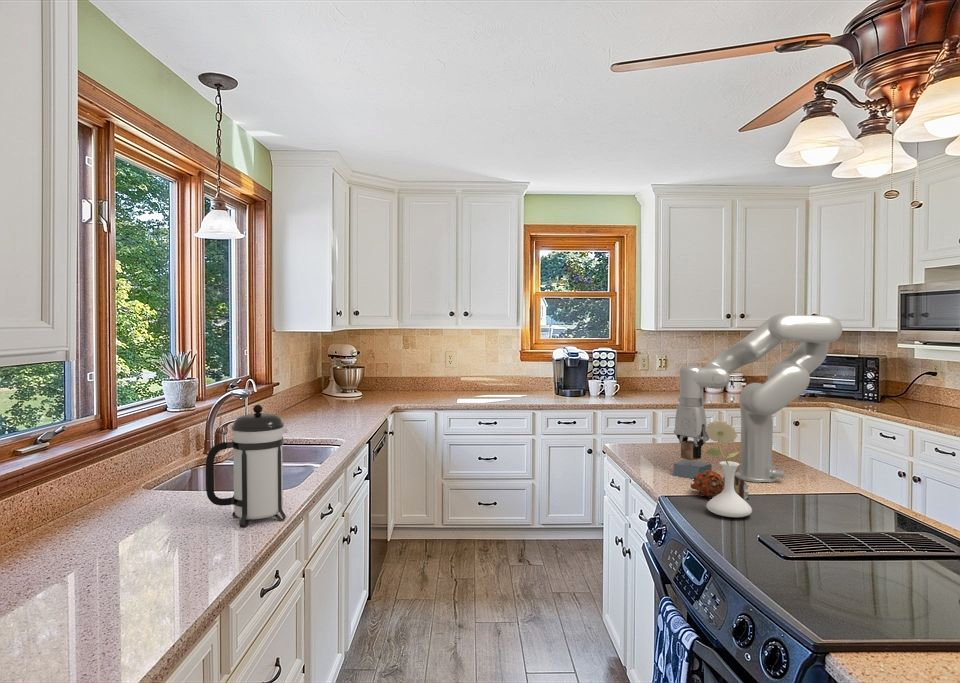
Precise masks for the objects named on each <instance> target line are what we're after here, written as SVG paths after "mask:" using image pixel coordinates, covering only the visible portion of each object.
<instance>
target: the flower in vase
mask: <svg viewBox="0 0 960 683" xmlns="http://www.w3.org/2000/svg"><path fill="white" fill-rule="evenodd" d="M706 425H707V427H706V428H707V429H705V431H706V433H707V435H708V436H709V438H710V439H709V440H712V441H713V442H717V443H718V449H717V448H713V447H711V448H709V449H707V450H706V451H705V454H707V455H710V456H713V457H718V456H719V455H721V456H722V458H723V459H724V460H723V461H722V460H721V461H719V462H718V463H719V465H720V466H721V468H722V471H723V477H725V486H724V490H723V491H722V492H721V493H720V494H718V495H717V496H715V497H713V498H712V499H711V498H710V499H709V501H707V503H706V505H705V506H706V508H707V510H708V511H710V512H711V513H712V514H715V515H718V516H722V517H726V518H744V517H748V516H749V515H751V514H752V512H753V509H752V507H751V505H750V504H749V503H748V502H747V501H746V500H743V499H742V498H741V497H740V496H739V495H738V494H737V493H736V492H735V490H734V478H735V473H736V472H737V469H738V467H739V466H741V463H739V462H735V461H731V460H730V461H728V460H727V459H730V458H733V457H736V456H738V454H740V451H737V452H731V453H729V454H727V456H726V457H725V455H724V454H723V452H722V450H721V445H722V444H723V445H726V444H730V443H734V442H735V440H736V439H737V437H738V432H737V431H736V428H735V427H733V425H732V424H729V423H728V422H727V421H722V420H719V419H718V420H713V421H712V422H711V421H709V423H706Z"/></svg>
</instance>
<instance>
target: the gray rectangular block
mask: <svg viewBox="0 0 960 683" xmlns="http://www.w3.org/2000/svg"><path fill="white" fill-rule="evenodd" d="M712 466H713V464H712V463H710V462H705V461H700V460H699V461H698V460H687V459H683V460H681V461H676V462H674V463H673V477H677V476H678V478H682V477H683V479H687V478H689V479H688V480H692V479H694V478H695V476H697V475H698V474H699V473H705V471H706V470H709V471H713V470H712Z"/></svg>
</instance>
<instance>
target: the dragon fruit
mask: <svg viewBox="0 0 960 683" xmlns="http://www.w3.org/2000/svg"><path fill="white" fill-rule="evenodd" d="M692 482H693V483H690V488H691V489H692V490H696V491H697V492H698V494H699V496H701V497H702V496H706V497H707V498H709V497H710V498H709V499H711V498H713V497H715V496H717V495H718V494H720V493H721V492H722V491H723V490H724V486H725V482H724V480H723V476H721V474H720V473H718V472H717V471H716V470H712V471H709V470H706V471H705V473H699V474H698V475H697V476H695V478H694V480H692Z"/></svg>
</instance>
